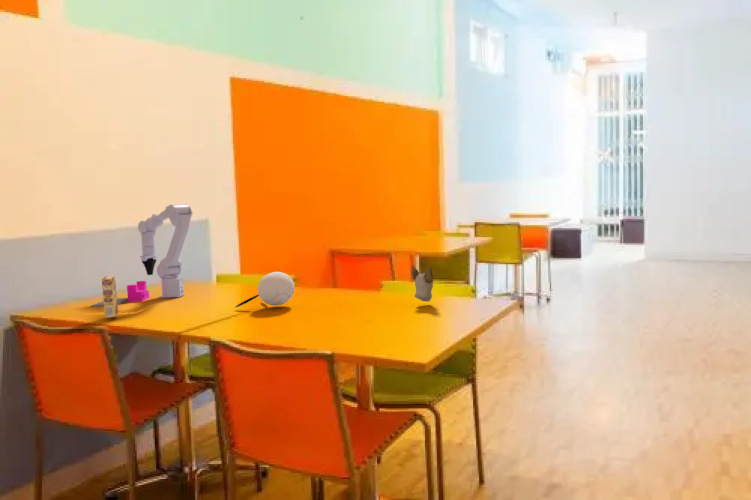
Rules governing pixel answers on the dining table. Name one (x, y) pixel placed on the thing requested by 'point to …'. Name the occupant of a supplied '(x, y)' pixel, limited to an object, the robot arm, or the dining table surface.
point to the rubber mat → (119, 301)
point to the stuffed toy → (274, 289)
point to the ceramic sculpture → (423, 284)
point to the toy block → (137, 292)
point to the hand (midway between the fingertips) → (150, 274)
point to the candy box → (109, 296)
